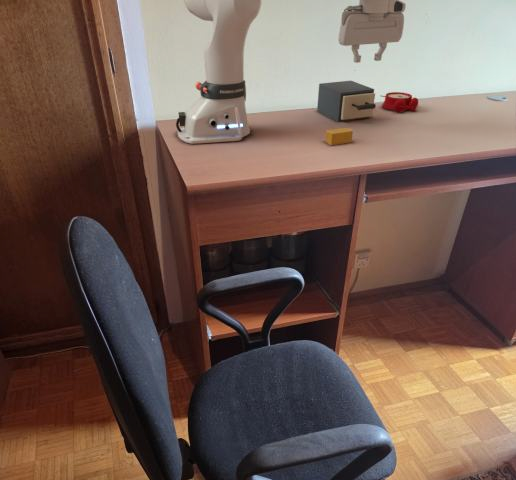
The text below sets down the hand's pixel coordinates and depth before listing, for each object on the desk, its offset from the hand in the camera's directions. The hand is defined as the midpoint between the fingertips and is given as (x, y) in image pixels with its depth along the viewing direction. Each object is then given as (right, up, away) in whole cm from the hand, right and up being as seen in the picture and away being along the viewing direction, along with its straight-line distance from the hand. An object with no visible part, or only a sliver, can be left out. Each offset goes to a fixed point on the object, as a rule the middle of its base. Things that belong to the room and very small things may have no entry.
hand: (367, 61), depth 137 cm
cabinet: (-4, -7, +19) cm, 20 cm away
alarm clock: (+17, -2, +24) cm, 29 cm away
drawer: (-2, -9, +15) cm, 17 cm away
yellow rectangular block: (-10, -27, -4) cm, 29 cm away
